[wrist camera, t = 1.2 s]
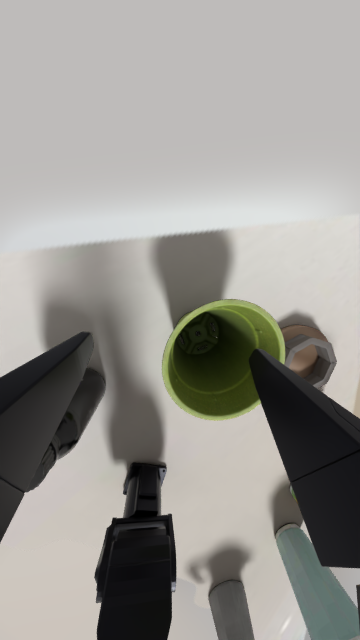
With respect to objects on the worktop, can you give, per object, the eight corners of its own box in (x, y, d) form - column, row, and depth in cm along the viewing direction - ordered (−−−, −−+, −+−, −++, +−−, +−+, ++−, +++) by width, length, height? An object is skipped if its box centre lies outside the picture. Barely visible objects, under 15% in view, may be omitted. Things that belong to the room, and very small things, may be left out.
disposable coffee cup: (310, 512, 37) (408, 657, 22) (304, 545, 39) (391, 698, 24) (268, 521, 36) (343, 681, 21) (264, 554, 38) (330, 722, 23)
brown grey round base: (305, 393, 30) (323, 406, 27) (250, 380, 28) (263, 393, 25) (332, 334, 29) (355, 340, 25) (276, 316, 27) (293, 320, 23)
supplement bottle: (83, 356, 24) (10, 420, 12) (115, 386, 25) (78, 469, 14) (48, 385, 24) (-58, 476, 12) (82, 413, 25) (17, 518, 14)
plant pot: (199, 380, 27) (227, 441, 16) (145, 337, 24) (133, 375, 13) (247, 328, 26) (310, 355, 15) (196, 278, 24) (227, 268, 13)
